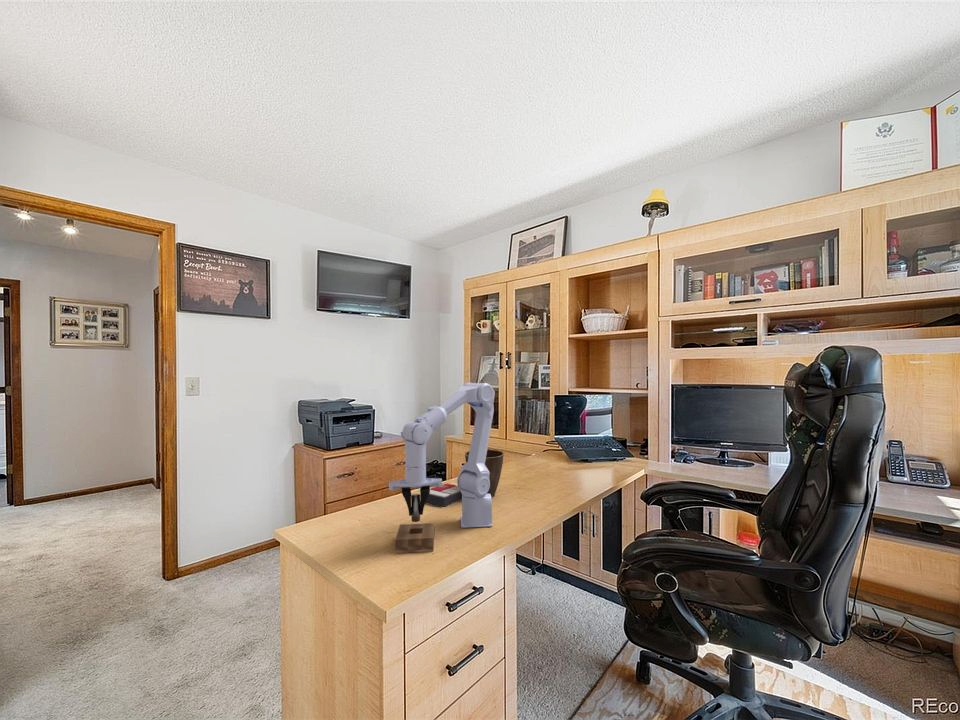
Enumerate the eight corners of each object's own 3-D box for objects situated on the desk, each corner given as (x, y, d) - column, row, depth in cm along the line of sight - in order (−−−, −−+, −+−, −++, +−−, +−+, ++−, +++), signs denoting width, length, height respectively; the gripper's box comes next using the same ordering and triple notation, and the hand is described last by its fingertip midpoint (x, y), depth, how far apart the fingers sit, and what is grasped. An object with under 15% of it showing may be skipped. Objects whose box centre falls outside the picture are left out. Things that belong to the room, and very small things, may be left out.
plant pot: (457, 495, 150) (456, 453, 151) (484, 486, 161) (484, 447, 161) (484, 504, 140) (484, 459, 140) (512, 495, 150) (511, 453, 150)
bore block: (434, 535, 115) (434, 523, 115) (433, 551, 105) (433, 538, 105) (399, 536, 114) (399, 524, 114) (395, 552, 104) (395, 539, 104)
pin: (419, 518, 111) (419, 493, 111) (420, 521, 109) (420, 496, 109) (411, 519, 111) (411, 494, 111) (411, 522, 108) (411, 496, 109)
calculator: (469, 487, 150) (443, 495, 137) (468, 498, 150) (443, 508, 137) (446, 482, 156) (420, 490, 144) (446, 493, 156) (420, 502, 143)
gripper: (439, 460, 115) (440, 506, 115) (389, 463, 112) (389, 510, 112) (442, 466, 108) (443, 515, 108) (388, 469, 105) (389, 520, 105)
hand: (415, 514), depth 110 cm, fingers closed on pin, 2 cm apart
